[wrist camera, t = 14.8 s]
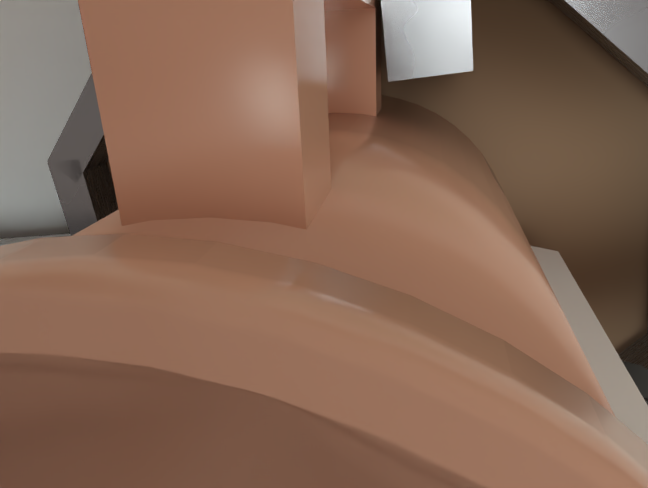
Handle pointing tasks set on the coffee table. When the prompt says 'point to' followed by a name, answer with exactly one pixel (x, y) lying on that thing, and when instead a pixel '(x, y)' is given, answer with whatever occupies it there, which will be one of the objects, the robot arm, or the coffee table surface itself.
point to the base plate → (557, 146)
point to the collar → (402, 63)
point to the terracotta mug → (288, 282)
